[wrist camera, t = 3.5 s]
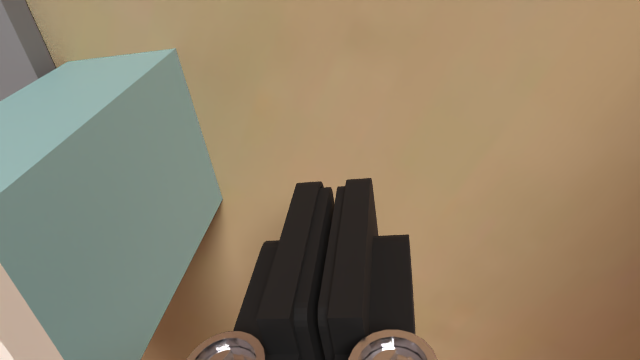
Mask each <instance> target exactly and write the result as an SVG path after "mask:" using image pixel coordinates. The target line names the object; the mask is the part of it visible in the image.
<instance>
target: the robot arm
mask: <svg viewBox="0 0 640 360" xmlns="http://www.w3.org/2000/svg"><path fill="white" fill-rule="evenodd" d="M186 360H438V359H437V357H436V355H435V353H434V351H433V349H432V348H431V347H430V346H429V345H428V344H427V343H426V342H425V340H424V339H422V338H420V337H418V336H416V335H415V318H414V301H413V285H412V270H411V256H410V243H409V235H389V236H378V228H377V220H376V211H375V202H374V194H373V185H372V179H371V178H365V179H351V180H346V186H341V187H337V193H336V199H335V204H334V198H333V192H332V189H331V187H326V188H324V187H323V184H322V182H306V183H297V184H296V187H295V190H294V194H293V197H292V200H291V204H290V207H289V210H288V214H287V217H286V221H285V224H284V227H283V231H282V234H281V237H280V240H279V241H266V242H264V244H263V246H262V248H261V251H260V254H259V257H258V259H257V262H256V265H255V268H254V271H253V274H252V277H251V280H250V283H249V286H248V289H247V292H246V295H245V298H244V301H243V304H242V307H241V310H240V313H239V315H238V318H237V321H236V324H235V327H234V330H233V331H228V332H224V333H220V334H217V335H214V336H212V337H211V338H209V339H207V340H205V341H203V342H202V343H201V344H200V345H199V346H197V347H196V348H195V349H194V350H193V351H192V353H191V354H190V355H189V357H188V358H187V359H186Z"/></svg>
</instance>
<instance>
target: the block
mask: <svg viewBox="0 0 640 360" xmlns="http://www.w3.org/2000/svg"><path fill="white" fill-rule="evenodd" d="M222 200H223V199H222V196H221V192H220V189H219V186H218V183H217V180H216V176H215V173H214V170H213V167H212V164H211V160H210V157H209V154H208V151H207V148H206V144H205V141H204V138H203V135H202V131H201V128H200V125H199V122H198V119H197V115H196V112H195V109H194V106H193V103H192V99H191V96H190V93H189V90H188V87H187V83H186V80H185V77H184V74H183V71H182V67H181V64H180V61H179V58H178V55H177V51H176V49H168V50H159V51H151V52H143V53H135V54H127V55H119V56H111V57H103V58H94V59H86V60H78V61H70V62H66V63H65V64H63V65H61V66H60V67H58V68H56V69H54V70H53V71H51V72H49V73H48V74H46V75H44V76H43V77H41V78H39V79H37V80H36V81H34V82H32V83H31V84H29V85H27V86H26V87H24V88H22V89H20V90H19V91H17V92H15V93H14V94H12V95H10V96H9V97H7V98H5V99H3V100H2V101H0V360H141V358H142V356H143V354H144V352H145V350H146V348H147V346H148V344H149V342H150V340H151V338H152V336H153V334H154V332H155V330H156V328H157V326H158V324H159V323H160V321H161V319H162V317H163V315H164V313H165V311H166V309H167V307H168V305H169V303H170V301H171V299H172V297H173V295H174V293H175V291H176V289H177V287H178V285H179V283H180V282H181V280H182V278H183V276H184V274H185V272H186V270H187V268H188V266H189V264H190V262H191V260H192V258H193V256H194V254H195V252H196V250H197V248H198V246H199V244H200V242H201V241H202V239H203V237H204V235H205V233H206V231H207V229H208V227H209V225H210V223H211V221H212V219H213V217H214V215H215V213H216V211H217V209H218V207H219V205H220V203H221V201H222Z"/></svg>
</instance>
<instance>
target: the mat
mask: <svg viewBox="0 0 640 360" xmlns="http://www.w3.org/2000/svg"><path fill="white" fill-rule="evenodd" d="M54 69H56V67H55V65H54V63H53V61H52V59H51V56H50V54H49V52H48V50H47V48H46V45H45V43H44V41H43V39H42V37H41V34H40V32H39V30H38V28H37V26H36V23H35V21H34V19H33V17H32V15H31V12H30V10H29V8H28V6H27V3H26V1H25V0H0V101H2V100H3V99H5V98H7V97H9V96H10V95H12V94H14V93H15V92H17V91H19V90H20V89H22V88H24V87H26V86H27V85H29V84H31V83H32V82H34V81H36V80H37V79H39V78H41V77H43V76H44V75H46V74H48V73H49V72H51V71H53V70H54Z"/></svg>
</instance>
